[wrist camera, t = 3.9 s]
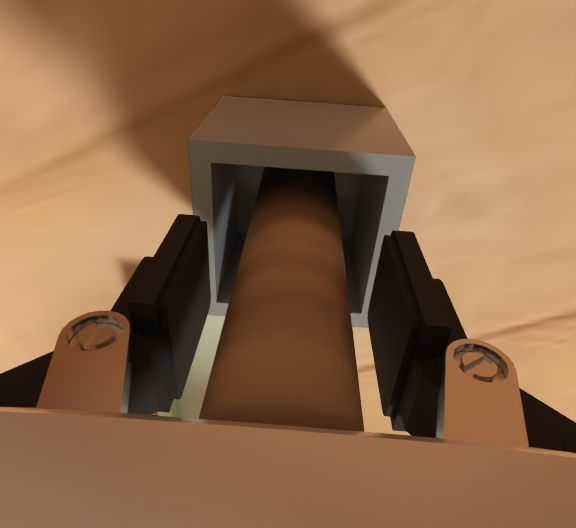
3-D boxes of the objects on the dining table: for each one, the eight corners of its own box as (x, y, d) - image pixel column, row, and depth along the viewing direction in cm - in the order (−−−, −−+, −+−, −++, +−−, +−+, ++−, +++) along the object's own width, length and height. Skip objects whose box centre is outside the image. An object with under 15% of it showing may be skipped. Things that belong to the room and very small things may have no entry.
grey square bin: (223, 95, 16) (187, 139, 12) (386, 107, 16) (415, 156, 11) (226, 237, 20) (199, 314, 15) (360, 247, 19) (375, 328, 15)
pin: (262, 145, 16) (185, 393, 6) (339, 151, 16) (381, 408, 6) (260, 214, 18) (197, 498, 8) (330, 219, 18) (352, 510, 8)
